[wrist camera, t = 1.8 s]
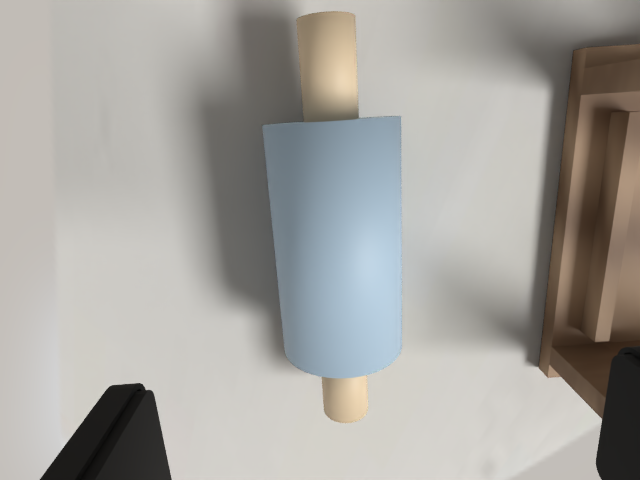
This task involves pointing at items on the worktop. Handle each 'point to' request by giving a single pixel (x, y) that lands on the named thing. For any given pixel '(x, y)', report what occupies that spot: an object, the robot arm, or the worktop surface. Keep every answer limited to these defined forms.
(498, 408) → the worktop surface
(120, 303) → the worktop surface
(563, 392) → the worktop surface
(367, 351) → the blue rolling pin
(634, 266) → the holder
